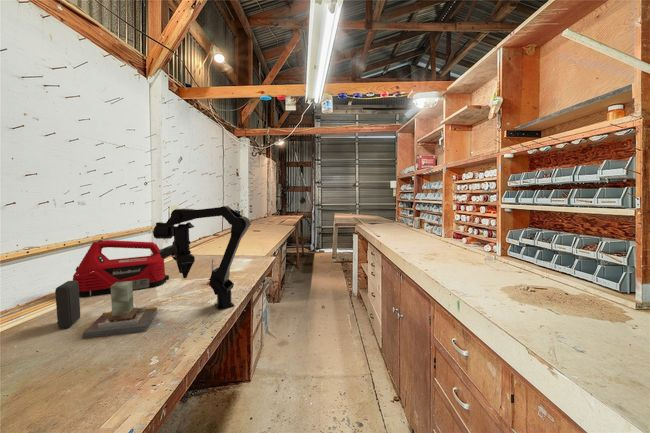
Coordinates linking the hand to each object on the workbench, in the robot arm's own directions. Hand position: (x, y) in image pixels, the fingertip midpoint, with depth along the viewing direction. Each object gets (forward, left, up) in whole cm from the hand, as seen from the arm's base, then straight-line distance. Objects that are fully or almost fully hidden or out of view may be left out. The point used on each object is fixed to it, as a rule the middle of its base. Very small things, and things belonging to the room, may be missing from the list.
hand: (182, 275), depth 120 cm
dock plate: (-7, +21, -13) cm, 26 cm away
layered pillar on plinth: (-7, +21, -11) cm, 25 cm away
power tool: (+42, +20, -13) cm, 49 cm away
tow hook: (+22, -20, -13) cm, 33 cm away
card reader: (+5, +37, -13) cm, 40 cm away
